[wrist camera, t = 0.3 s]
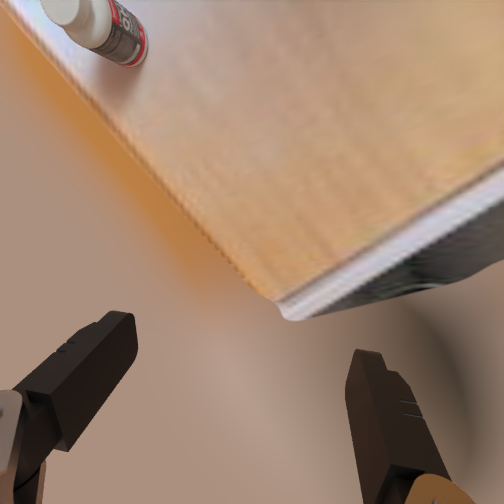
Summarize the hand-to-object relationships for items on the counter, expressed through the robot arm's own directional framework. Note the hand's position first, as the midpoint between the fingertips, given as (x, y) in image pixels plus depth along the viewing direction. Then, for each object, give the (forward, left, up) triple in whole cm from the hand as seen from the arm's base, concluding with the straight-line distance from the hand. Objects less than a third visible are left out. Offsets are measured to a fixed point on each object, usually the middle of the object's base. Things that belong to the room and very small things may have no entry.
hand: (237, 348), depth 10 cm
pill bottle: (-16, -23, -27) cm, 39 cm away
